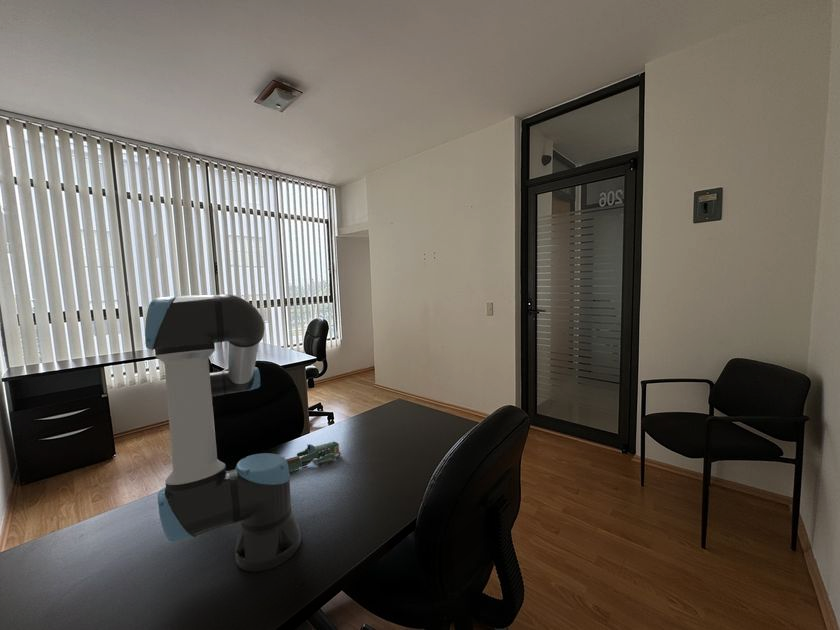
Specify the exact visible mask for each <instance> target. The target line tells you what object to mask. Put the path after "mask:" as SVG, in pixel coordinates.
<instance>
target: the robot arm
mask: <svg viewBox="0 0 840 630" xmlns="http://www.w3.org/2000/svg"><path fill="white" fill-rule="evenodd" d="M145 318H146V320H145V327H144V328H145V329H144V337H145V343H144V344H145V347H146V349H147V350H151V351H153V350H154V355H155V358H156V359H157V360H159V361H160V362H162V363H163V364H164V365H163V366H164V371H165V372H164V373H165V385H166V388H165V389H166V399H167V412H168V413H167V414H168V423H169V437H170V449H171V461H172V471H171V473H170V474H169V475H168V476H167V478H166V479H165V481H164V482H165V487H162V488H161V489H160V490H158V492H157V503H158V505H157V506H158V513H159V519H160V522H161V527H162V530H163V533H164V535H165V538H166V539H167V540H168V541H169V542H171V543H179V542H183V541H185V540H189V539H195V538H197V537H198V536H199V537H200V536H202V535H204V534H208V533H211V532H213V531H217V530H218V529H221V528H225V527H228V526H231V525H233V524H235V523H240V529H239V532H238V536H237V540H236V544H235V549H234V554H235V555H234V556H235V563H236V565H237V567H238V568H240V569H241V570H244V571H246V572H251V573H257V572H264V571H268V570H271V569H274V568H276V567H278V566H280V565H281V564H284V563H285V562H287V561H288V560H289V559H290V558H291V557H292V556H294V554H295V553H296V552H297V551H298V549H299V547H300V545H301V543H302V542H301V540H302V539H301V538H302V537H301V529H300V525H299V524H298V521H297V520H296V518H295V515H294V514H293V512H292V511H293V509H292V497H291V482H290V481H291V480H290V479H291V473H289V468H288V463H287V461H286V460H285V459H286V457H285V458H283V455H279V454H275V453H267V452H264V453H256V454H251V455H247V456H245V457H244V458H241V459H240V460H239V461H238V462H237V463H236V466H235V469H230V470H226V463H225V462H222V461H221V460H220V459H218V453H217V451H218V450H217V442H216V439H217V438H216V430H215V418H214V417H215V416H214V407H213V406H214V405H213V397H217V396H223V395H227V394H228V395H229V394H235V393H242V392H247V391H248V392H249V391H252V390H256V389H258V388H260V387H261V374H260V370H259V368H258V367H256V364H257V363H256V361H257V357H258V356H257V354H258V349H259V343H261V342H262V340H263V338H264V334H265V321H264V319H263V316H262V315H261V313H260V312H259V310H258V309H257V308H256V306H254V305H253V304H251V302H249V301H247V300H246V299H244V298H242V297H239V296H236V295H233V294H225V293H223V294H203V295H201V294H200V295H199V294H198V295H197V294H195V295H172V296H164V297H162V296H161V297H155V298H154V299H153V300H151V301H150V302H149V305H148V307H147V312H146V317H145ZM224 342H228V351H227V352H228V359H227V361H228V362H227V363H228V364H227V365H228V369H227V370H222V371H215V372H210V362H209V359H210V356H211V355H213V353H214V352H215V351H216V346H215V344H216V343H224Z"/></svg>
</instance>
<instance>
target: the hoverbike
mask: <svg viewBox="0 0 840 630" xmlns="http://www.w3.org/2000/svg"><path fill="white" fill-rule="evenodd" d="M306 446H307V448H305V449H304V450H302V451H299V452H297V453H296V456H292V457H289V458H286V457H285V455H284V454H283V455H282V457H283V458H285V460H286V461H287V463H288V468H289V474H290V475H293V474H296V473H297V472H299V471H300V468H302V469H305V468H308V465H309V464H311V463H312V461H314V460H315V463H316V465H317V468H322V466H323V463H328V464H329V465H332V464H333V462H334V461H336V460H338V459H339V458H340V457H341V456H342V453H341V451H340V444H339V442H337V441H334V440H332V441H329V442H328V443H324V444H320V445H316V446H315V445H313V444H310V443H309V444H306Z"/></svg>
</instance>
